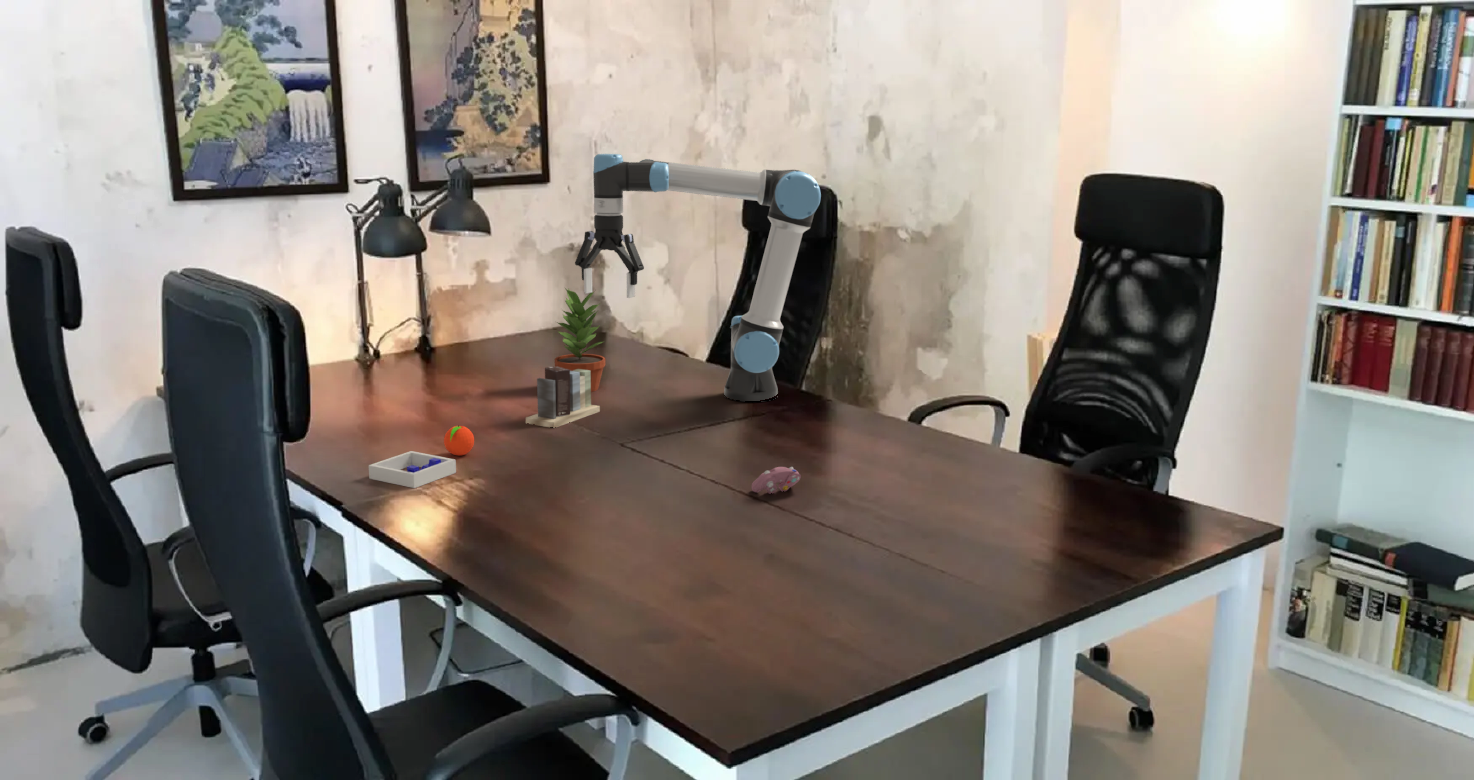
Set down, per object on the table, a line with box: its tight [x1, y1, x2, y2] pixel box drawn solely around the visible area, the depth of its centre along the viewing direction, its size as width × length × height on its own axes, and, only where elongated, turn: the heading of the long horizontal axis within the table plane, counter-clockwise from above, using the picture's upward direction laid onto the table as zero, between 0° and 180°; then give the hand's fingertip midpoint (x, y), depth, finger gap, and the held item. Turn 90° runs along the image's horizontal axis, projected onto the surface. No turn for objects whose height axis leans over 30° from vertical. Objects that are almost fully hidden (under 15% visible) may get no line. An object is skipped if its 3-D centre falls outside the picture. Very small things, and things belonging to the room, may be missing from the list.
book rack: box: [525, 369, 601, 429], centre depth 312 cm, size 9×20×12 cm, turn 151°
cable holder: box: [406, 458, 441, 473], centre depth 260 cm, size 8×4×4 cm, turn 149°
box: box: [544, 366, 570, 417], centre depth 309 cm, size 6×4×12 cm
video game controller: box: [751, 466, 802, 495], centre depth 255 cm, size 10×5×7 cm, turn 119°
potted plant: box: [554, 287, 606, 393], centre depth 342 cm, size 15×15×30 cm
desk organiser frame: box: [368, 450, 457, 489], centre depth 262 cm, size 13×13×3 cm
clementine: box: [443, 425, 475, 457], centre depth 277 cm, size 8×7×7 cm
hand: (609, 295), depth 317 cm, fingers open, 13 cm apart
